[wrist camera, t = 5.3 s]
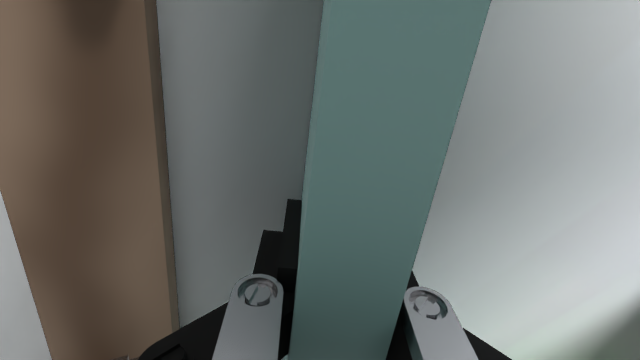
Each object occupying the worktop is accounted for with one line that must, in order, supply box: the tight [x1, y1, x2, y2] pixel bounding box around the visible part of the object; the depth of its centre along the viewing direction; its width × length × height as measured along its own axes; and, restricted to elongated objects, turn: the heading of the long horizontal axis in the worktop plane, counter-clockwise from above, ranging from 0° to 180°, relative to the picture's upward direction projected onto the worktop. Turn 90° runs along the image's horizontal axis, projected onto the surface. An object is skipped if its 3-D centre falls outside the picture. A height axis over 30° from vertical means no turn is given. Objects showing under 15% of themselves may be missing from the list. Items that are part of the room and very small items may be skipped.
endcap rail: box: [0, 0, 179, 360], centre depth 11 cm, size 6×27×4 cm, turn 173°
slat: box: [284, 0, 491, 360], centre depth 11 cm, size 24×2×6 cm, turn 173°
